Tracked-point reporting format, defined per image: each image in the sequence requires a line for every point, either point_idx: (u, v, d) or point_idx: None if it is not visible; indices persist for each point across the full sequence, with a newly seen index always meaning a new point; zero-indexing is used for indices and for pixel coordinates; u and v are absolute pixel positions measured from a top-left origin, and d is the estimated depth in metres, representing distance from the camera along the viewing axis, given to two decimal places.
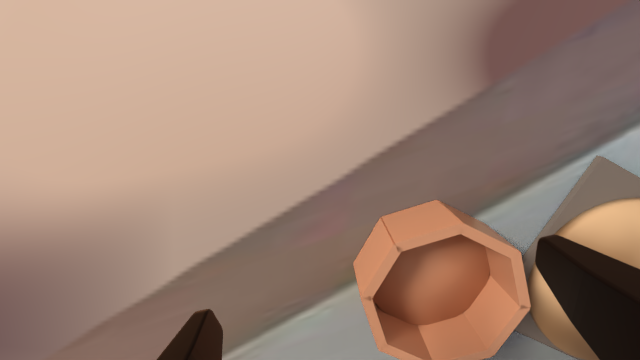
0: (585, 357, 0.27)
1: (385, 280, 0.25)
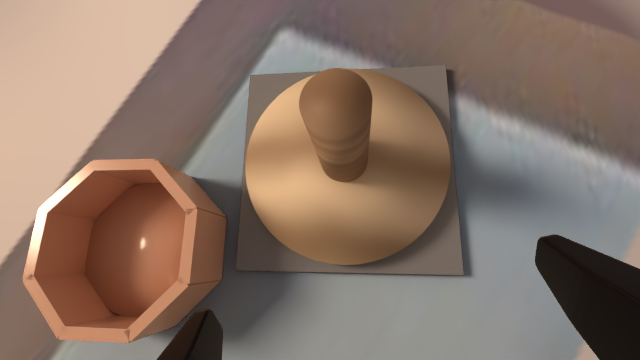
0: (366, 259, 0.21)
1: (108, 275, 0.23)
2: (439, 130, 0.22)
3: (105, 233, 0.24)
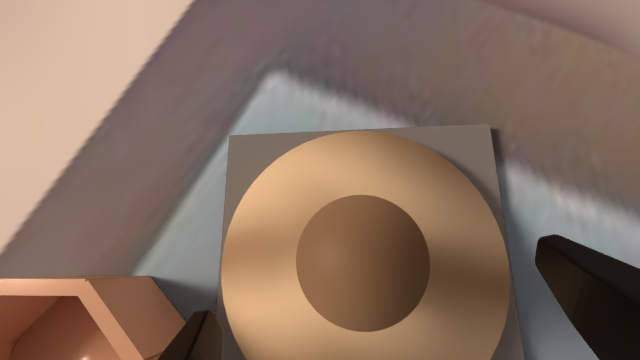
0: None
1: None
2: (490, 221, 0.16)
3: None
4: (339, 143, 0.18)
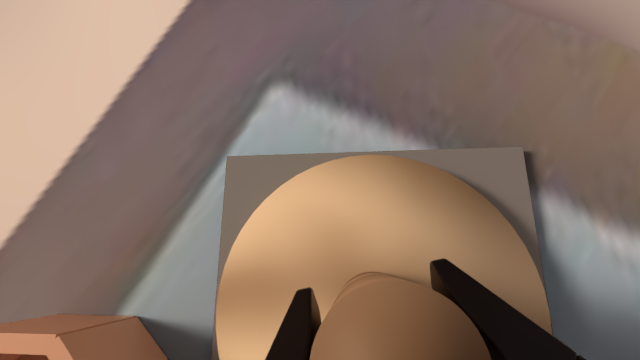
0: None
1: None
2: (527, 264, 0.14)
3: None
4: (351, 168, 0.16)
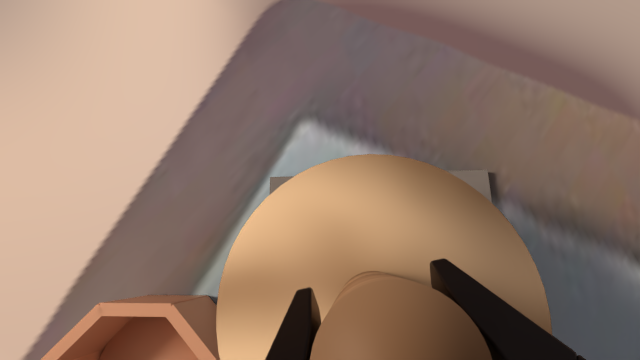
0: None
1: None
2: (527, 263, 0.14)
3: None
4: (351, 168, 0.16)
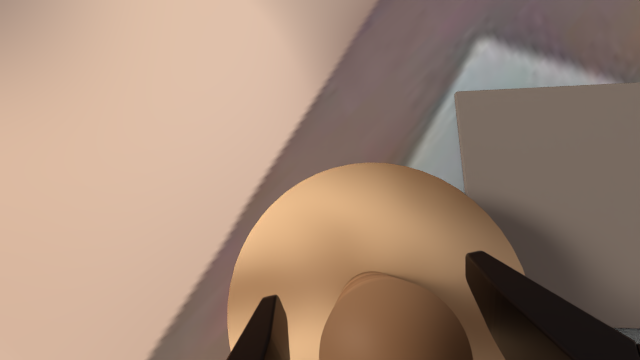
0: None
1: None
2: (514, 264, 0.15)
3: None
4: (352, 175, 0.17)
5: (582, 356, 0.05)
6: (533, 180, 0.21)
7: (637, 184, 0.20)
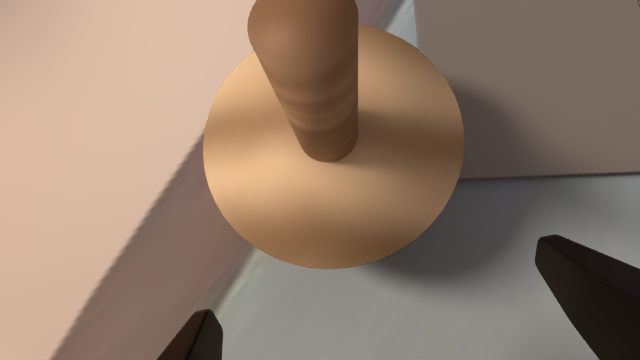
0: (358, 260, 0.16)
1: None
2: (447, 93, 0.17)
3: None
4: None
5: None
6: (480, 59, 0.23)
7: (571, 58, 0.22)
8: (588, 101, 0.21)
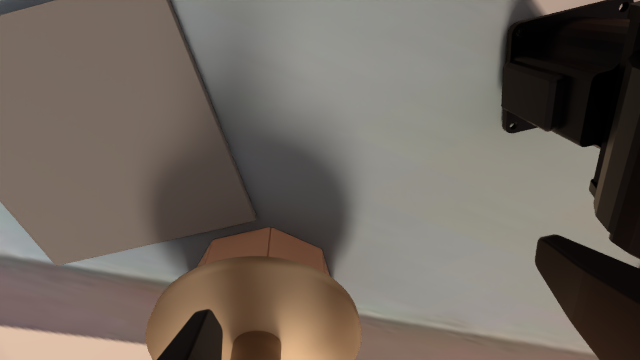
0: (351, 312, 0.21)
1: None
2: (189, 286, 0.19)
3: None
4: None
5: None
6: (109, 200, 0.21)
7: (60, 113, 0.18)
8: (111, 93, 0.18)
